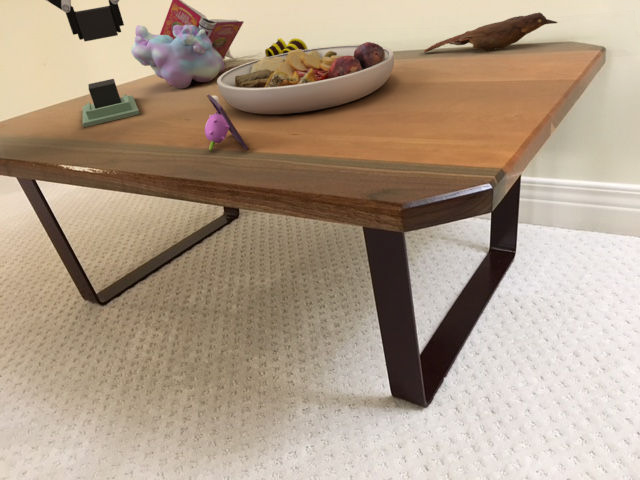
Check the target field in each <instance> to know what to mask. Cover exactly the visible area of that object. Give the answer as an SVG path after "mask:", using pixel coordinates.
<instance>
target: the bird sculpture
mask: <svg viewBox="0 0 640 480" xmlns="http://www.w3.org/2000/svg"><path fill="white" fill-rule="evenodd" d="M551 24H552V25H553V24H558V21H557V20H556V21H555V20H551V19H547V17H546V16H545V15H544V14H543V13H542V12H534V13H531V14H527V15H518V16H513V17H510V18H507V19H504V20H502V21H498V22H492V23H489V24H485V25H482V26H478V27H476V28H475V29H472V30H467V31H465V32H464V33H461V34H457V35H455V36H453V37H449V38H447V39H444V40H441V41H438V42H436V43H434V44H433V45H430V46H429V47H427V48H426V49H424V51H423V53H425V54H426V53H427V52H430V51H433V50H435V49H438V48H440V47H443V46H445V45H447V44H449V45H454V46H464V45H467V44H471V45H472V48H473V49H475V50H478V51H479V50H483V51H493V50H501V49H502V50H503V49H505V48H507V47H509V46H511V45H513V44H516V43H518V42H519V41H520V40H521V39H523V38H524V37H525V36H526V35H529V34H531V33H532V32H534V31H536V30H539V28H541V27H543V26H545V25H551Z"/></svg>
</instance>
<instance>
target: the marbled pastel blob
mask: <svg viewBox="0 0 640 480" xmlns="http://www.w3.org/2000/svg"><path fill="white" fill-rule="evenodd" d="M243 24H244V21H243V20H241V21H239V20H238V19H222V18H221V19H220V18H219V19H218V18H212V19H208V18H207V16H206V15H205V14H203V13H202V12H200V11H199V10H197V9H195V8H193V7H192V6H191V5H189V4H187V3H186V2H185V1H183V0H171V2H170V5H169V8H168V10H167V14H166V17H165V19H164V21H163V25H162V27H161V30H160V33H159V34H153V33H151V32H149V30H148V28H147V27H146V26H144V25H136V26H135V37H134V42H133V44H132V46H131V55H132V56H133V58H134V59H135V60H136V61H138V63H140V65H142V66H144V67H147V66H150V68H151V69H152V70H153V72H154V74H155V75H156V76H157V77H158V78H160V79H164V80H165V81H166V83H167V84H168V85H170V86H172V87H174V88H177V89H186V88H188V87H189V86H190V85H191V84H192V80H193V81H195V82H197V83H209V82H210V81H212V80H213V79H215V78H216V77H217V76H218V74H221V73H223V71H224V70H225V60H223V58H224V57H225V55H226V53H227V51H228V49H229V48H230V49H231V45H232V44H233V42H234V40H235V39H236V37H237V35H238V33H239V31H240V30H241V28H242V26H243ZM225 58H226V57H225Z"/></svg>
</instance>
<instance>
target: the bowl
mask: <svg viewBox="0 0 640 480" xmlns="http://www.w3.org/2000/svg"><path fill="white" fill-rule="evenodd" d="M394 64H395V57H394V52H393V50H392V49H390V48H388V47H386V46H381V45H380V44H378V43H375V42H371V41H365V42H364V43H361V44H345V45H332V46H322V47H314V48H307V50H301V49H296V50H292V51H289V52H288V53H284V54H279V55H275V56H271V57H266V56H263V57H262V58H260V59H259V58H258V59H256V60H252V61H249V62H246V63H244V64H241V65H238V66H235V67H233V68H231V69H229V70H226V71H225V72H224V73H222V74H221V75H220V76H219V77H218V78H217V80H216V83H217V84H216V85H217V87H218V91H219V93H220V96H222V98H223V99H224V100H225V102H226V103H227V104H229V105H230V106H231V107H233V108H235V109H237V110H239V111H243V112H246V113H251V114H258V115H291V114H300V113H308V112H314V111H319V110H324V109H330V108H333V107H337V106H341V105H345V104H348V103H350V102H351V103H352V102H354V101H356V100H359V99H362V98H364V97H366V96H368V95H370V94H372V93H374V92H376V91H377V90H378V89H380V88H381V87H382V86H384V84H385V83H386V82H387V81H388V80H389V78H390V77H391V75H392V72H393V70H394Z"/></svg>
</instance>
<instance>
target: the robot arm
mask: <svg viewBox="0 0 640 480" xmlns="http://www.w3.org/2000/svg"><path fill="white" fill-rule="evenodd" d="M45 1H46V2H48V3H50V4H51V5H53V6H54V7H56V8H58V10H60V11H62V12H64V13H65V15H66V18H67V22H68V24H69V27H70V30H71V33H72V35H73V36H74V35H75V36H76V35H77V36H78V39H79V41H80V40H84V39H83V36H82V33H81V30H80V27H79V24H78V21H77V18H76V15H75V13H76V12H77V11H75V8H74V6H72V0H45ZM119 2H120V0H108V4H109V5H108V6H109V7H110V10H111V14H112V17H113V20H114V24H115V27H116V30H117V33H122V29H121V27H122V26H125V24H124V20H123V17H122V13H121V10H120V6H119Z"/></svg>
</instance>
